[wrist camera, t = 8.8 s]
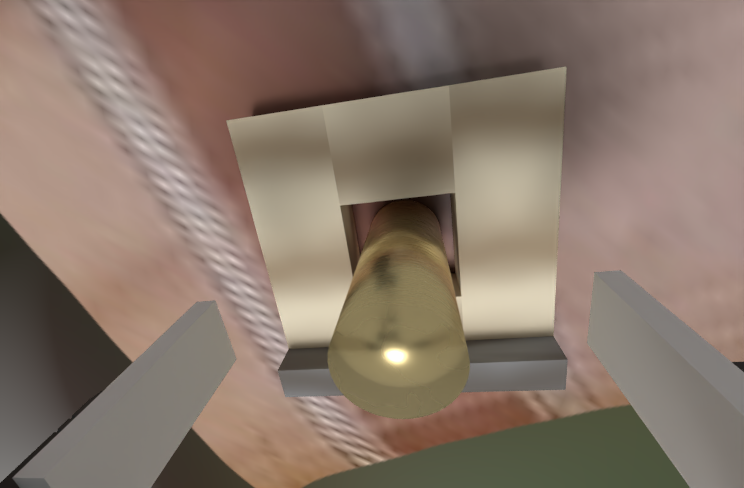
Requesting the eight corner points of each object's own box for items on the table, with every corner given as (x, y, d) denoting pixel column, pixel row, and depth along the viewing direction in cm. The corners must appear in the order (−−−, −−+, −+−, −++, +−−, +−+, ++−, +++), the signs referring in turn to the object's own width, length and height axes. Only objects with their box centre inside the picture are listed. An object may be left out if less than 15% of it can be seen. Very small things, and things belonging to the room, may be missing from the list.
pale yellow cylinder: (365, 204, 21) (315, 309, 10) (437, 196, 21) (466, 299, 10) (375, 268, 23) (340, 420, 12) (443, 262, 22) (473, 417, 11)
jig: (251, 118, 20) (204, 122, 16) (542, 72, 18) (587, 60, 13) (308, 344, 26) (285, 396, 21) (535, 333, 23) (565, 389, 19)
